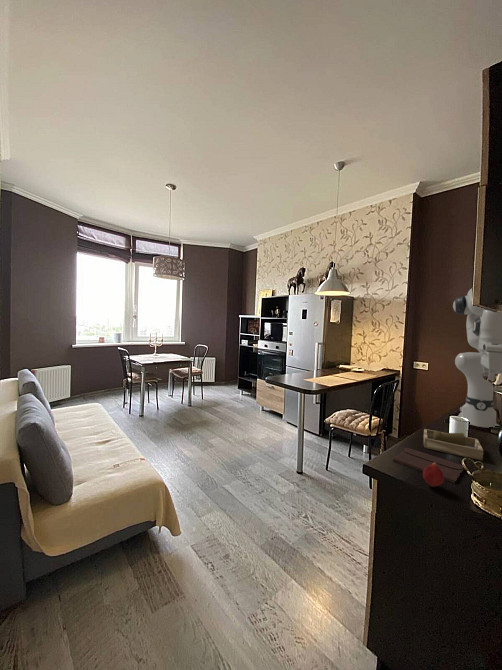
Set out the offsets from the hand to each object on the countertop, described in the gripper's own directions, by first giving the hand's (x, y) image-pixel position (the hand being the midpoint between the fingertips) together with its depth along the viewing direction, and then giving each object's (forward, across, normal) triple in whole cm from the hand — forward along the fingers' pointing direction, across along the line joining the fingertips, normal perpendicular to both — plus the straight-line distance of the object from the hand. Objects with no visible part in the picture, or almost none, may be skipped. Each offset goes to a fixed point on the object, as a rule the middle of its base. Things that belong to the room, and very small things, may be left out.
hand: (488, 378), depth 125 cm
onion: (+31, +48, -20) cm, 61 cm away
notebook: (+32, +32, -21) cm, 49 cm away
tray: (+31, +7, -12) cm, 34 cm away
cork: (+27, +6, -7) cm, 29 cm away
